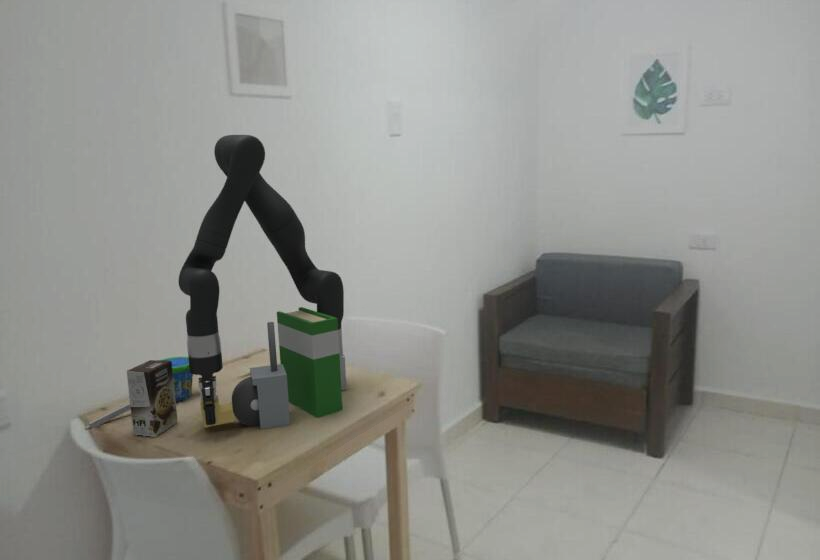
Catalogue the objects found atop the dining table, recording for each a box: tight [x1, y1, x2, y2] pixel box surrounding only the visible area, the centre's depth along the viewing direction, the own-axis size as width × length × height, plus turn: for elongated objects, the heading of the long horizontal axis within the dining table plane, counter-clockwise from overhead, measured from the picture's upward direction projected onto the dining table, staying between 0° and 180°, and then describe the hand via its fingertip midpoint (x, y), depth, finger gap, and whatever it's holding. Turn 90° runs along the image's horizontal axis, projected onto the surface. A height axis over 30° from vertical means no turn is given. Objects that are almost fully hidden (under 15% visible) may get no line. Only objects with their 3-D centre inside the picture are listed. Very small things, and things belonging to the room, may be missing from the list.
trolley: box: [231, 321, 291, 430], centre depth 160 cm, size 13×9×25 cm
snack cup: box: [162, 356, 194, 402], centre depth 181 cm, size 16×10×10 cm
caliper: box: [83, 402, 131, 431], centre depth 169 cm, size 20×1×6 cm, turn 138°
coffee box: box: [126, 359, 179, 438], centre depth 159 cm, size 9×6×16 cm
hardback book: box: [276, 306, 344, 419], centre depth 171 cm, size 18×7×24 cm, turn 39°
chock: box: [199, 394, 235, 428], centre depth 159 cm, size 7×5×6 cm
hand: (210, 419), depth 159 cm, fingers closed on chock, 5 cm apart
